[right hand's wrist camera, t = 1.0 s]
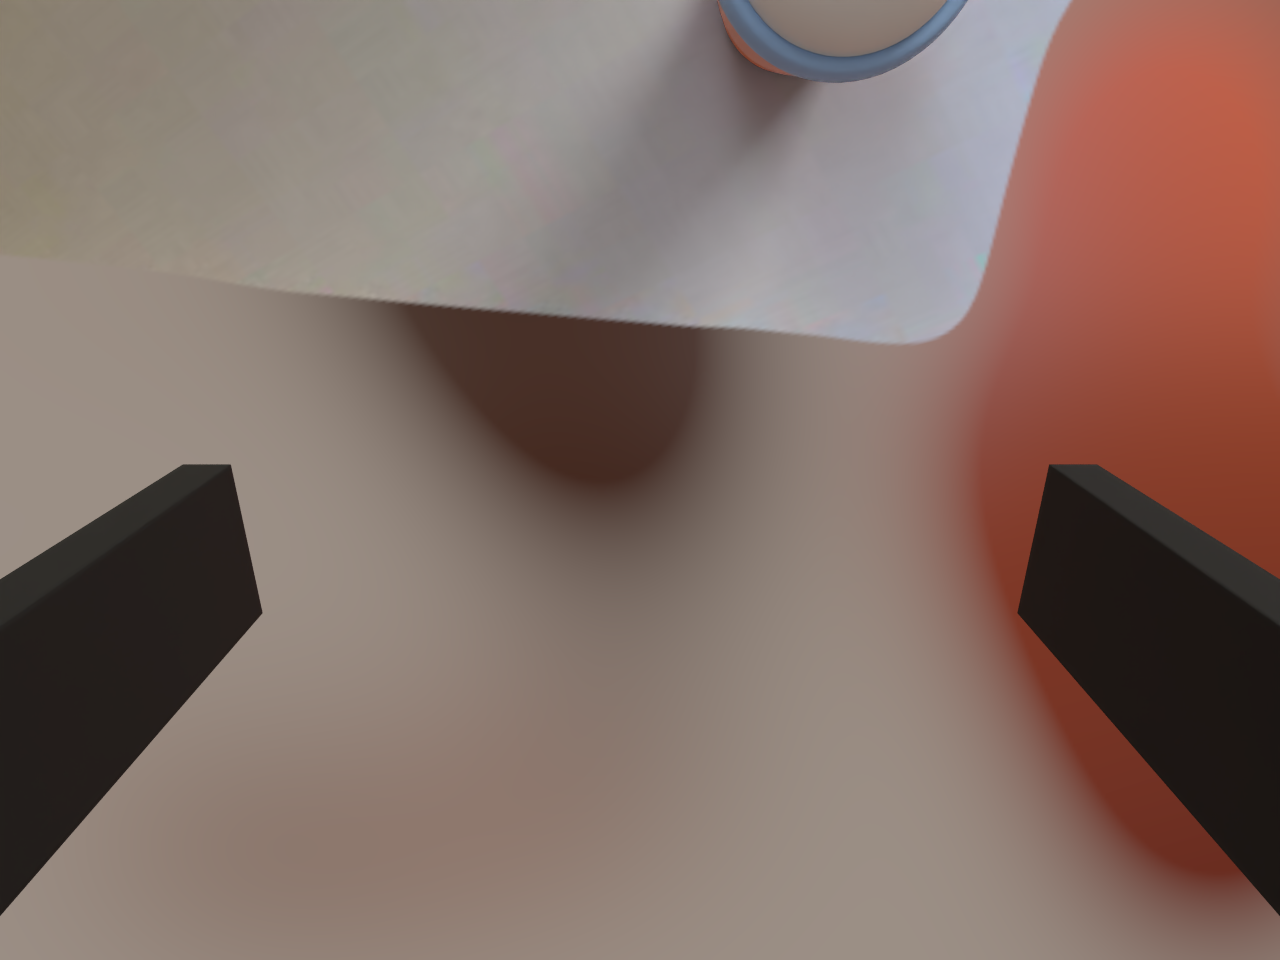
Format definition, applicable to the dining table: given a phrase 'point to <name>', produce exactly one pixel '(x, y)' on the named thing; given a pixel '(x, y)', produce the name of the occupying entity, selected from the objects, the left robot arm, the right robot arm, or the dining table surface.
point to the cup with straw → (834, 34)
